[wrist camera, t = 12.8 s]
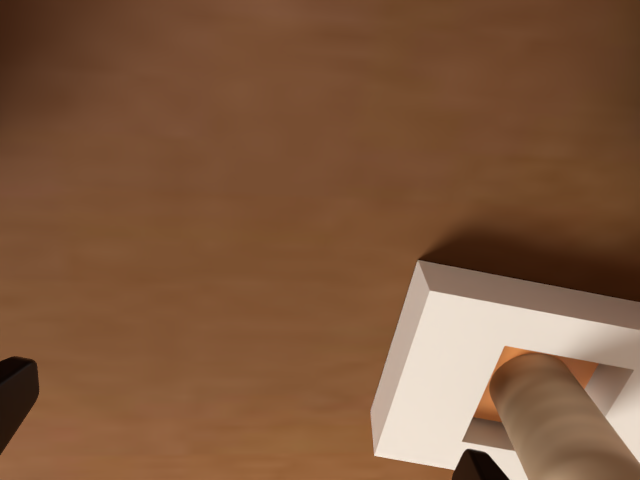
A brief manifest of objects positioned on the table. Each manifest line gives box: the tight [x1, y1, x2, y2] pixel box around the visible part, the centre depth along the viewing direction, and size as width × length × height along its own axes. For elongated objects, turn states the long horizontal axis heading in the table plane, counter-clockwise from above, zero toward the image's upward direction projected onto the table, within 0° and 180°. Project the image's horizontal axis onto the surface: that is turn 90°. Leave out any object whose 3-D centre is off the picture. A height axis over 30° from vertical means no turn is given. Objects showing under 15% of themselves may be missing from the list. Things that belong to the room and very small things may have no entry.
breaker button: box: [473, 346, 599, 422], centre depth 22 cm, size 5×5×2 cm
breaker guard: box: [371, 260, 640, 480], centre depth 21 cm, size 14×10×3 cm
